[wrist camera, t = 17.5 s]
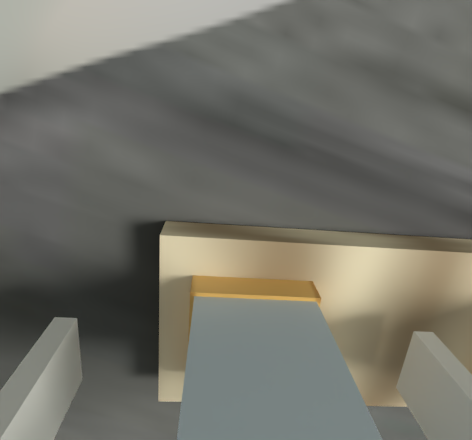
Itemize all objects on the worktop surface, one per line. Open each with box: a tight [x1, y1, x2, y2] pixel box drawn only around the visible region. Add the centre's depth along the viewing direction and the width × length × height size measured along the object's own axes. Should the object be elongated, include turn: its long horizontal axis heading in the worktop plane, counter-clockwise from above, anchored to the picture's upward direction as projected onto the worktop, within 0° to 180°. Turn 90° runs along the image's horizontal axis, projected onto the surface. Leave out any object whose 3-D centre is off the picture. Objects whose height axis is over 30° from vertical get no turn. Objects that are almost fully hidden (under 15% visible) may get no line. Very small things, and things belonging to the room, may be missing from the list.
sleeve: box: [177, 275, 382, 440], centre depth 11 cm, size 5×5×7 cm
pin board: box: [159, 221, 472, 407], centre depth 13 cm, size 20×8×6 cm, turn 85°
